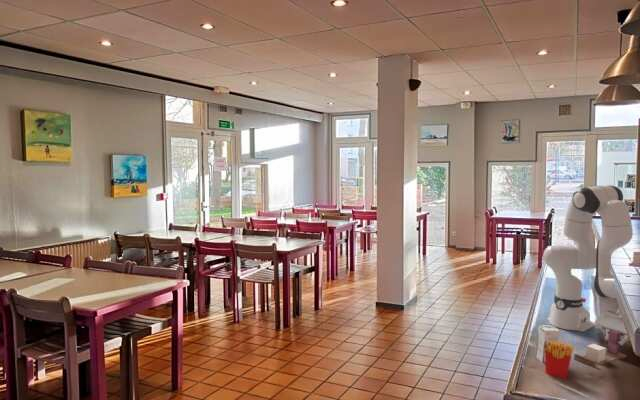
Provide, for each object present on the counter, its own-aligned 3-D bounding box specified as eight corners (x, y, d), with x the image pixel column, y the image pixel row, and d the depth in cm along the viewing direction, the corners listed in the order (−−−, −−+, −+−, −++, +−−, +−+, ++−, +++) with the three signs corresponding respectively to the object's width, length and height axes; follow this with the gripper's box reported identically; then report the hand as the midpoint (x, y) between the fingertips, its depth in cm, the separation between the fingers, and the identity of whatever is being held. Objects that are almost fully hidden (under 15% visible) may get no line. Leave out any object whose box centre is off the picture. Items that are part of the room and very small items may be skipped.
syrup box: (549, 359, 203) (552, 324, 202) (556, 366, 197) (559, 330, 196) (535, 359, 203) (538, 324, 201) (542, 365, 197) (545, 329, 196)
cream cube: (592, 355, 206) (593, 343, 205) (604, 360, 202) (606, 348, 201) (585, 357, 203) (586, 345, 203) (597, 362, 199) (599, 350, 199)
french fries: (542, 376, 188) (545, 342, 187) (544, 371, 192) (547, 338, 190) (569, 382, 183) (573, 348, 182) (571, 378, 187) (574, 344, 186)
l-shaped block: (606, 350, 214) (609, 327, 213) (626, 357, 208) (628, 334, 207) (573, 361, 202) (576, 337, 201) (593, 369, 195) (596, 344, 194)
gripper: (601, 304, 220) (586, 329, 216) (651, 318, 203) (636, 346, 199) (605, 312, 223) (591, 337, 219) (656, 327, 206) (641, 355, 202)
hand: (613, 342), depth 209 cm, fingers open, 4 cm apart
